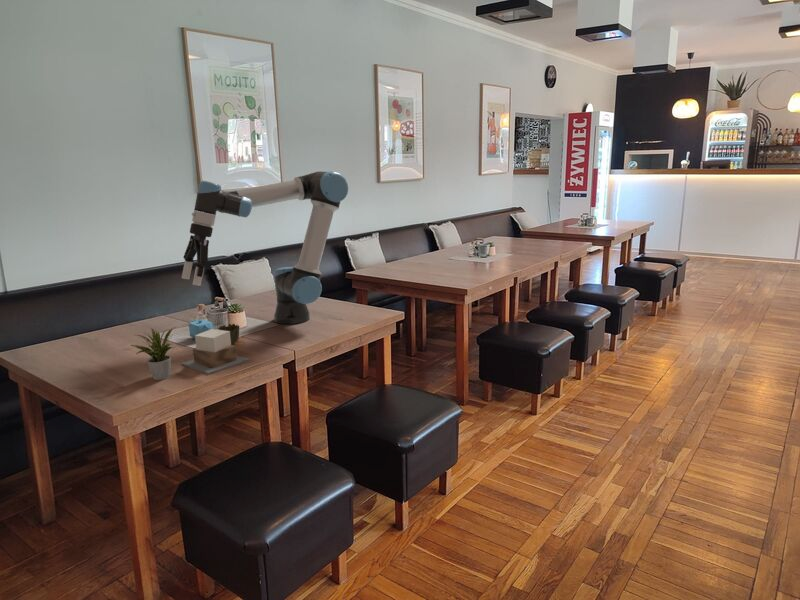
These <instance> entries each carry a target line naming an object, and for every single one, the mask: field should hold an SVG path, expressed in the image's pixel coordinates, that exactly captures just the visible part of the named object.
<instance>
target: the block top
mask: <svg viewBox="0 0 800 600" xmlns="http://www.w3.org/2000/svg"><path fill="white" fill-rule="evenodd" d="M194 341H195V348H196V349H197V350H203V351H209V352H217V351H219V350H221V349H224V348H226V347H228V346H230V345H231V338H230V331H224V330H219V329H215V328H213V329H210V330H208V331H205V332H203V333H200V334H197V335H195V339H194Z"/></svg>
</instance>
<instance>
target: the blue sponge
mask: <svg viewBox="0 0 800 600" xmlns="http://www.w3.org/2000/svg"><path fill="white" fill-rule="evenodd" d="M188 329H189V331H188V332H189V336H190V338H193V340H195V335H197V334H200V333H203V332H205V331H208V330H210V329H214V325H213V322H212V321H208V320H206V319H198V320H194V319H193V318H192V319H190V322H188Z"/></svg>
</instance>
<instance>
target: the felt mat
mask: <svg viewBox="0 0 800 600" xmlns="http://www.w3.org/2000/svg"><path fill="white" fill-rule="evenodd" d="M236 359H237V360H235V361H232V362H229V363H226V364H223V365H220V366H217V367H214V368H208V367H206V366H203V365H200V364H198V363H195V362H194V358H193V359H190V360H187V361H183V362H181V365H182V366H184V367H187V368H189V369H192V370H195V371H198V372H200V373H203V374H205V375H207V376H209V375H212V374H215V373H218V372H221V371H224V370H226V369H229V368H232V367H235V366H238V365H242V364H244V363H247V362H249V361H250V359H249V358H246V357H243V356H240V355H237V354H236Z"/></svg>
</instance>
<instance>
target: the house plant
mask: <svg viewBox="0 0 800 600" xmlns="http://www.w3.org/2000/svg"><path fill="white" fill-rule="evenodd" d="M176 328H177V326H176V327H172V328H171V329H166V330H164V331H163V332H162V334H160V332H159V331H158V330H154V328H153V327H151V330H150V331H151V333H152V336H151V335H150V334H148V333H146V332H143V334H145V335H146V336H148V337H149V338H150V339H149V338H148V337H146V336H144V335H140V334H136V336H137V337H138V338H140V339H143V340H145V341H146V342H145V341H143V340H142V342H143V343H145V344H146V345H148V347H147V346H143V345H138V344H130V346H131V347H134V348H136V349H138V352H136V353H135V355H137V354H139V353H140V354H141V353H145V354H147V355H148V356H150V357H149V358H148V359H146V361H147V365H148V367H149V370H150V373H151V377H152V379H153V380H155V381H159V380H161V381H162V380H167V379H168V378H169V377H171V366H172V365H171V362H172V361H171V360H172V357H171V355H167V352H169V350H171V349H175V350H176V348H175V347H173V346H171V345H174V343H168V342H169V341H170V339H171V338H172V336H170V335H171V333H172V331H173V330H174V329H176ZM165 332H166V333H165ZM164 334H165V336H164ZM140 339H137V338H136V340H137V341H140ZM162 339H163V342H162Z"/></svg>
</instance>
